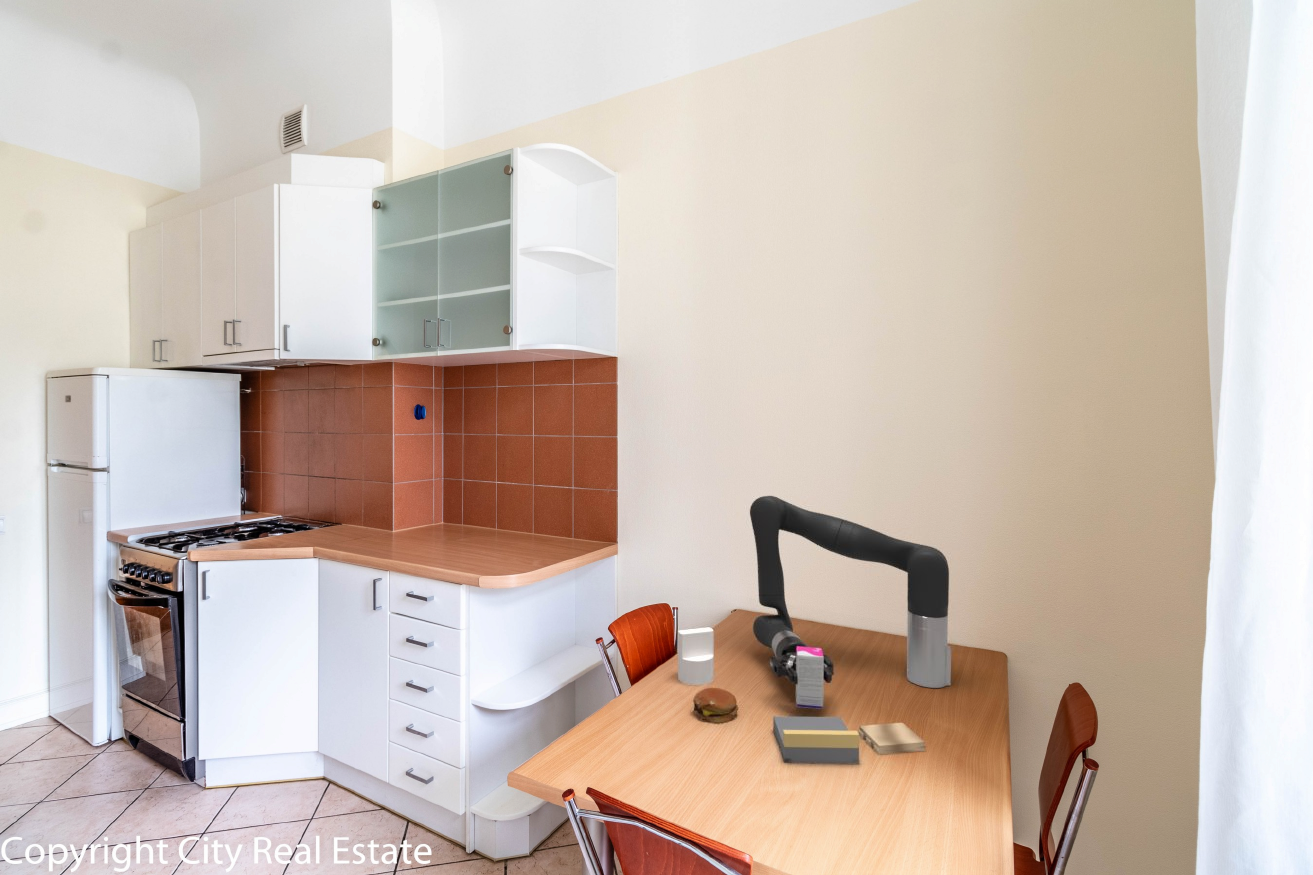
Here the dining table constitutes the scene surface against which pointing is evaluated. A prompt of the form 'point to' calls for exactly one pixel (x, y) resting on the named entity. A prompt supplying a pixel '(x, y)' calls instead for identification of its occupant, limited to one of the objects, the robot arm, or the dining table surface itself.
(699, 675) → the cylinder with rectangular tab
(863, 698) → the dining table surface
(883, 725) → the block
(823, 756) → the dock
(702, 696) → the burger
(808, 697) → the supplement box
